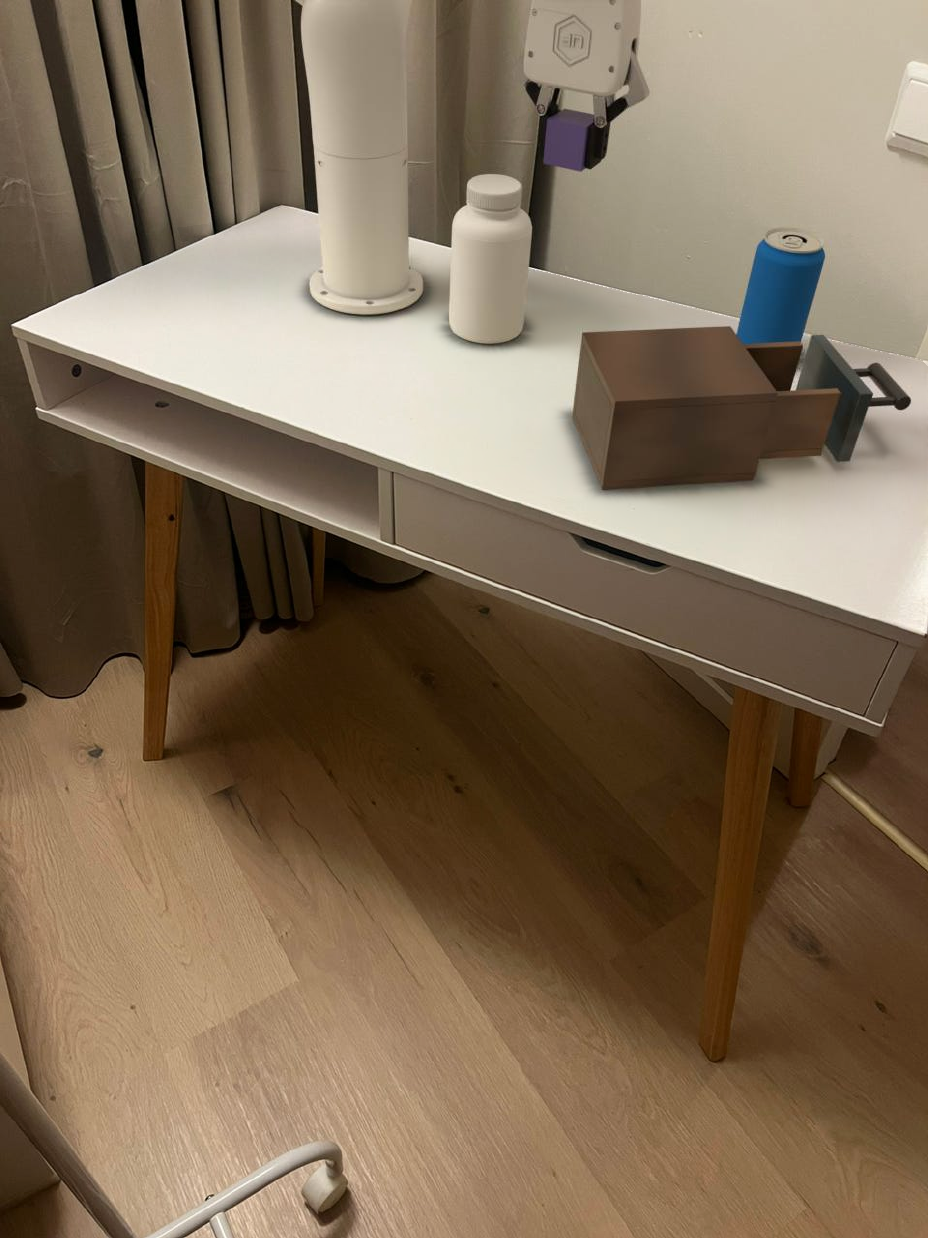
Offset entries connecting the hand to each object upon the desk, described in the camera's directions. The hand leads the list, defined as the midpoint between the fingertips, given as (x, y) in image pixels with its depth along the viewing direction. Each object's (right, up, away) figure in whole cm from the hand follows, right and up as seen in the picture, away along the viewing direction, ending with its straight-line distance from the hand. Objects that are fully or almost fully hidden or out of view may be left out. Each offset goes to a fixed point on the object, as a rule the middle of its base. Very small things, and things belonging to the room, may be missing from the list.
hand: (570, 157), depth 101 cm
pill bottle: (-8, -16, +5) cm, 19 cm away
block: (0, 0, 0) cm, 0 cm away
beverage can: (+20, -19, +2) cm, 28 cm away
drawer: (+19, -30, -10) cm, 37 cm away
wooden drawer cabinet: (+7, -31, -11) cm, 34 cm away
